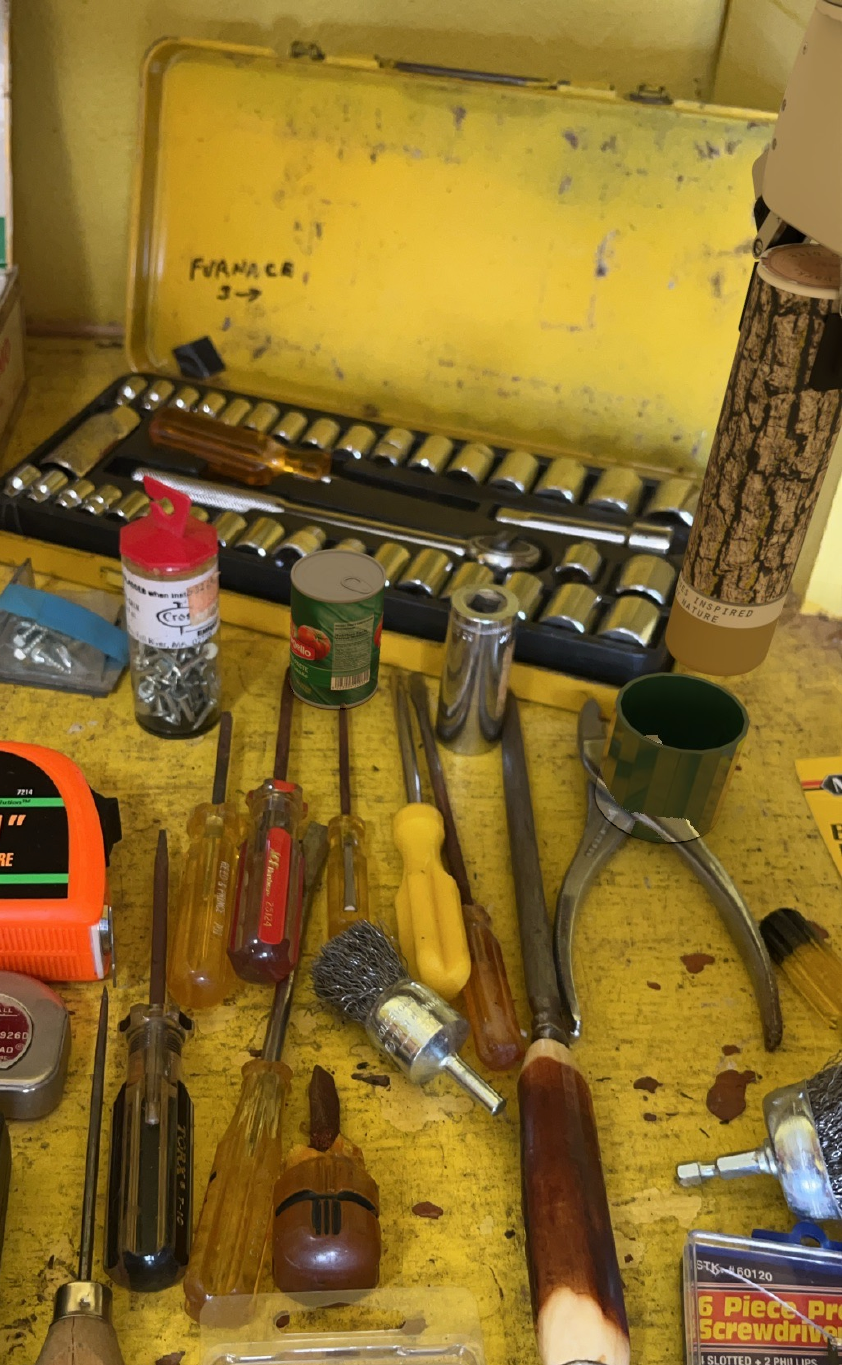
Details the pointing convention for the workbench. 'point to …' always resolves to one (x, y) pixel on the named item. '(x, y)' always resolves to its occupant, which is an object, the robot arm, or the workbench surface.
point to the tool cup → (673, 749)
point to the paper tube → (760, 469)
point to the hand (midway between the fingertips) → (798, 356)
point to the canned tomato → (336, 627)
